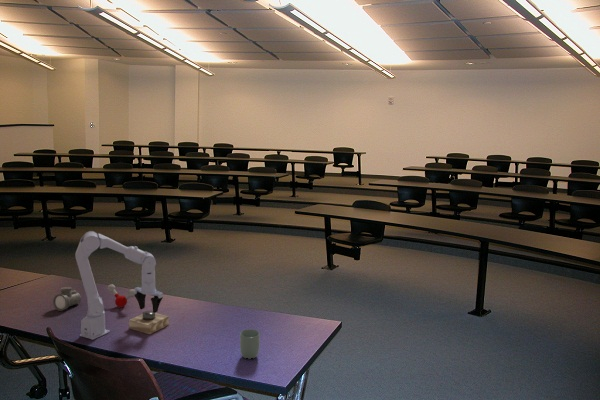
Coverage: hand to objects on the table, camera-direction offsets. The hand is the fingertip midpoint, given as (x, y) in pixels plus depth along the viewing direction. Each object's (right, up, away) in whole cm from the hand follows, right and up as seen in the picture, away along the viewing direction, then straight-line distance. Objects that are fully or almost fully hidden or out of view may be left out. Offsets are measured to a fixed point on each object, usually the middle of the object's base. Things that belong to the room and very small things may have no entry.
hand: (148, 310), depth 235 cm
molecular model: (-20, -3, +23) cm, 31 cm away
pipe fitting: (-45, -3, +21) cm, 50 cm away
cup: (+47, -14, -24) cm, 55 cm away
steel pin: (0, -7, +1) cm, 7 cm away
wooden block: (0, -8, +1) cm, 8 cm away
